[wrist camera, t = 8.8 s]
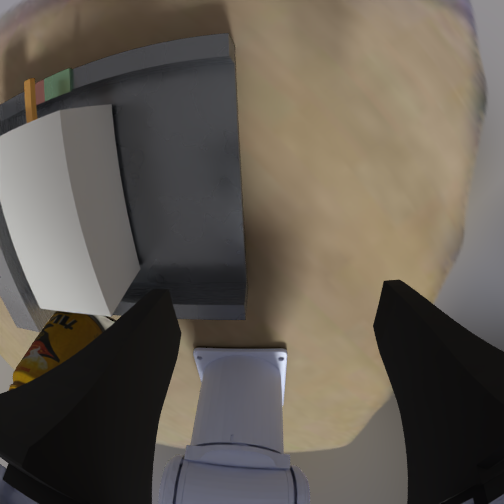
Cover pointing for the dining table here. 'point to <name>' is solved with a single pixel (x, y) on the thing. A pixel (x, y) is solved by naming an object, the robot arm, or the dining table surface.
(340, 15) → the dining table surface
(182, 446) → the dining table surface
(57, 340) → the condiment
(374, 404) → the dining table surface
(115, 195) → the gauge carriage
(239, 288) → the gauge frame
